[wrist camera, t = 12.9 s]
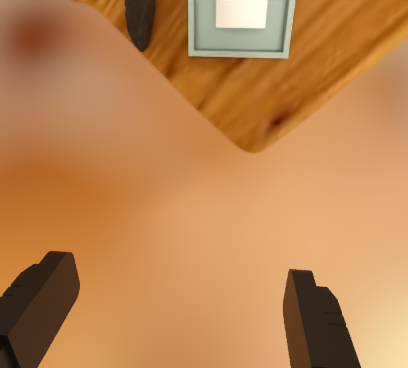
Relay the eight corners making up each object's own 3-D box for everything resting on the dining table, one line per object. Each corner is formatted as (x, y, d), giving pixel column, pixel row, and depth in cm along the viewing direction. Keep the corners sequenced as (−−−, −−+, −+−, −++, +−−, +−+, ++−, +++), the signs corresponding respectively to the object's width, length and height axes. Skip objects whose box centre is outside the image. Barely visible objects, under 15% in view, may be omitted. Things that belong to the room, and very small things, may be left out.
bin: (191, 53, 39) (188, 56, 37) (191, -61, 34) (187, -67, 31) (284, 55, 39) (287, 58, 36) (298, -61, 33) (303, -67, 31)
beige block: (218, 25, 37) (215, 27, 33) (219, -26, 35) (217, -32, 31) (261, 26, 37) (265, 28, 32) (266, -26, 35) (270, -31, 30)
